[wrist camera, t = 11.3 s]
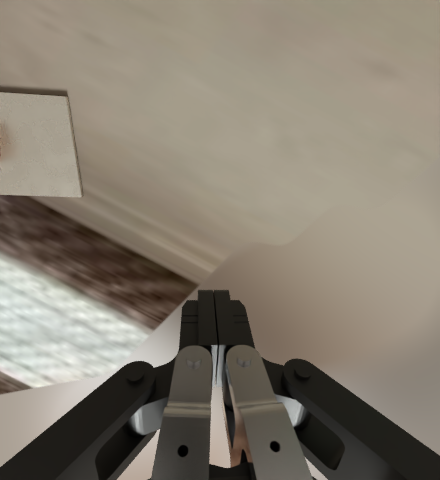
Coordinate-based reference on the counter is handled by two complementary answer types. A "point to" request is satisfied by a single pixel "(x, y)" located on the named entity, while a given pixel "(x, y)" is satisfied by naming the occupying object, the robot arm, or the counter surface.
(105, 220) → the counter surface
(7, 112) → the block stand
